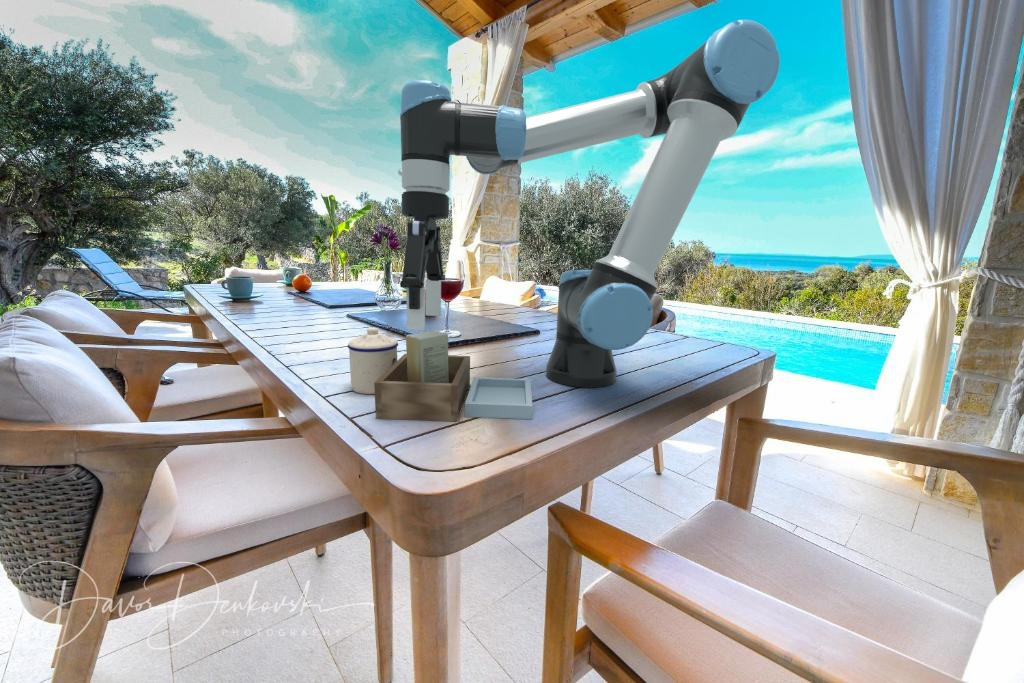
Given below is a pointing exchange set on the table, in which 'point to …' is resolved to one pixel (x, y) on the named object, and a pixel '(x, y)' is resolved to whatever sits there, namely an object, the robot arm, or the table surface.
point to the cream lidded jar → (370, 359)
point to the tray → (499, 398)
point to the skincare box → (427, 357)
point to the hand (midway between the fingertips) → (425, 322)
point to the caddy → (422, 393)
